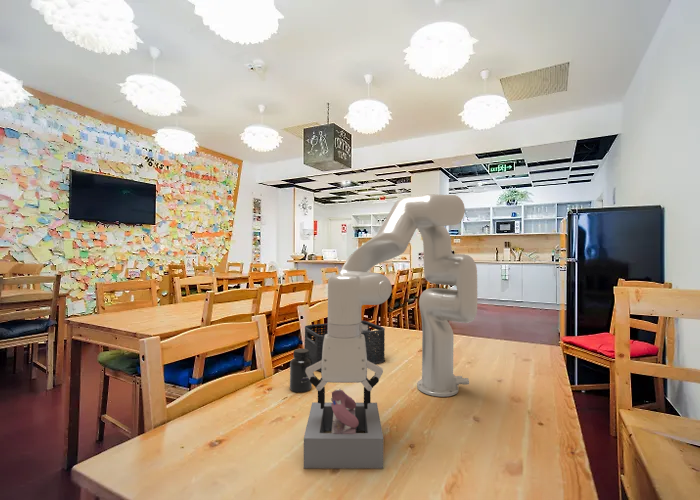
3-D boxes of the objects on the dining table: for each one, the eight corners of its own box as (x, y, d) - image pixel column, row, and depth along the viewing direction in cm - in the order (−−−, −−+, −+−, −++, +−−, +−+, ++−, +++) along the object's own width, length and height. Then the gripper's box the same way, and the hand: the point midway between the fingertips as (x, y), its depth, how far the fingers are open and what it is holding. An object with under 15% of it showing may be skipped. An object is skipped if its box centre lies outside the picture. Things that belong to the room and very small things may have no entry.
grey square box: (376, 426, 85) (376, 402, 85) (383, 468, 69) (383, 438, 69) (312, 426, 85) (312, 402, 85) (303, 468, 69) (303, 438, 69)
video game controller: (340, 414, 82) (327, 388, 81) (357, 405, 82) (344, 379, 82) (341, 437, 72) (326, 407, 72) (360, 426, 72) (345, 397, 72)
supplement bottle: (307, 394, 103) (307, 354, 103) (286, 392, 105) (286, 353, 105) (314, 385, 110) (314, 348, 110) (294, 383, 112) (294, 346, 112)
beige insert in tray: (354, 411, 83) (354, 405, 83) (355, 441, 70) (355, 434, 70) (334, 411, 83) (334, 405, 83) (331, 441, 70) (331, 434, 70)
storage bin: (364, 349, 150) (364, 319, 150) (388, 362, 133) (388, 328, 133) (301, 358, 137) (301, 325, 137) (319, 374, 120) (319, 336, 120)
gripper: (381, 326, 80) (381, 398, 80) (307, 325, 80) (307, 398, 80) (384, 334, 73) (384, 414, 73) (303, 334, 73) (303, 414, 73)
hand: (344, 406), depth 77 cm, fingers open, 9 cm apart
